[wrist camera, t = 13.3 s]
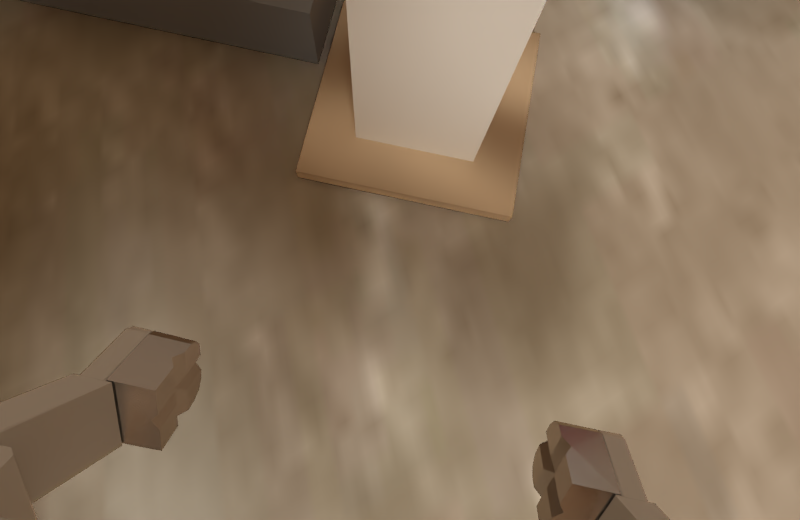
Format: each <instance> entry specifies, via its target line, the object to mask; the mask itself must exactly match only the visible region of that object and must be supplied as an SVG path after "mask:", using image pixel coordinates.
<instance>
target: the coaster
mask: <svg viewBox="0 0 800 520" xmlns="http://www.w3.org/2000/svg"><path fill="white" fill-rule="evenodd" d="M539 39H540V34H539V33H535V32H532V33H531V36H530V38H529V40H528V42H527V44H526V47H525V49H524V51H523V53H522V55H521V58H520V60H519V62H518V64H517V66H516V69H515V71H514V73H513V75H512V77H511V80H510V82H509V84H508V86H507V88H506V91H505V93H504V95H503V97H502V99H501V102H500V104H499V106H498V108H497V110H496V113H495V115H494V117H493V119H492V121H491V124H490V126H489V128H488V130H487V132H486V135H485V137H484V139H483V141H482V143H481V146H480V148H479V150H478V152H477V154H476V157H475V159H474V161H473V162H472V161H467V160H463V159H458V158H453V157H448V156H443V155H439V154H434V153H429V152H424V151H419V150H415V149H410V148H405V147H400V146H395V145H391V144H386V143H381V142H376V141H371V140H367V139H362V138H357V137H356V133H355V119H354V105H353V92H352V78H351V64H350V50H349V37H348V23H347V9H346V0H344V2H343V6H342V9H341V13H340V17H339V20H338V24H337V27H336V31H335V34H334V38H333V41H332V45H331V48H330V52H329V55H328V59H327V62H326V66H325V69H324V73H323V76H322V80H321V83H320V87H319V90H318V94H317V97H316V101H315V105H314V108H313V112H312V115H311V119H310V122H309V126H308V129H307V133H306V136H305V140H304V143H303V147H302V150H301V154H300V157H299V161H298V164H297V168H296V173H297V176H298V177H300V178H305V179H310V180H314V181H319V182H324V183H328V184H333V185H338V186H342V187H347V188H352V189H357V190H361V191H366V192H371V193H375V194H380V195H385V196H390V197H394V198H399V199H404V200H408V201H413V202H418V203H422V204H427V205H432V206H437V207H441V208H446V209H451V210H455V211H460V212H465V213H469V214H474V215H479V216H484V217H488V218H493V219H498V220H502V221H507V222H508V221H509V220H510V219H511V218H512V216H513V209H514V202H515V196H516V189H517V183H518V176H519V170H520V163H521V157H522V150H523V144H524V137H525V131H526V124H527V117H528V111H529V104H530V98H531V91H532V85H533V78H534V72H535V65H536V59H537V52H538V46H539Z"/></svg>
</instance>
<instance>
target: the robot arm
mask: <svg viewBox="0 0 800 520" xmlns="http://www.w3.org/2000/svg"><path fill="white" fill-rule="evenodd" d="M200 355H201V353H200V344H199V343H198V342H196V341H193V340H189V339H185V338H181V337H177V336H173V335H169V334H165V333H161V332H157V331H151V330H147V329H143V328H139V327H135V326H132V327H129V328H127V329H125V330H124V331H123V332H122V333H121V334H120V335H119V336H118V337H117V338H116V339H115V340H114V341H113V342H112V343H111V344H110V345H109V346H108V347H107V348H106V349H105V350H104V351H103V352H102V353H101V354H100V355H99V356H98V357H97V358H96V359H95V360H94V361H93V362H92V363H91V364H90V365H89V366H88V367H87V368H86V369H85V370H84V371H83V372H82V373H81V374H80V375H77V374H71V375H68V376H66V377H63V378H61V379H58V380H56V381H53V382H51V383H48V384H45V385H43V386H40V387H38V388H35V389H33V390H30V391H28V392H25V393H23V394H20V395H18V396H15V397H13V398H10V399H7V400H5V401H2V402H0V520H37V518H36V515H35V512H34V509H33V507H32V503H33V502H35V501H36V500H38V499H40V498H41V497H43V496H44V495H46V494H47V493H49V492H50V491H52V490H54V489H55V488H57V487H58V486H60V485H61V484H63V483H64V482H66V481H68V480H69V479H71V478H72V477H74V476H75V475H77V474H78V473H80V472H82V471H83V470H85V469H86V468H88V467H89V466H91V465H92V464H94V463H96V462H97V461H99V460H100V459H102V458H103V457H105V456H106V455H108V454H110V453H111V452H113V451H114V450H116V449H117V448H119V447H120V446H122V443H125V444H130V445H135V446H140V447H145V448H151V449H156V450H161V451H162V449H163V448H164V446H165V445H166V443H167V442H168V440H169V439H170V437H171V436H172V434H173V433H174V431H175V430H176V428H177V427H178V419H177V416H178V415H180V414H182V413H183V412H185V411H187V410H189V408H190V406H191V405H192V403H193V402H194V400H195V398H196V395H197V392H198V390H199V387H200V382H201V369H200V367H199V366H198V365H197V363H196V361H197V359H198V358H199V356H200ZM546 434H547V440H548V441H546V442H544V443H542V444H540V445H539V447H538V449H537V451H536V453H535V456H534V462H533V484H534V488H535V489H536V491H537V492H538V493H539V495H540V496H541V499H540V501H539V503H538V504H537V512H538V518H539V520H670V519H669V518H668V517H667V516H666V515H665V514H664V513H663V511H662V510H661V509H660V508H659V507H658V506H657V505H656V504H655V503H651V502H648V500H647V497H646V495H645V492H644V489H643V487H642V484H641V481H640V479H639V476H638V473H637V471H636V468H635V465H634V463H633V460H632V457H631V454H630V452H629V449H628V446H627V444H626V441H625V439H624V438H623V437H622V435H620V434H615V433H610V432H606V431H601V430H596V429H591V428H586V427H582V426H577V425H572V424H568V423H563V422H558V421H553V422H552V423H551V424H550V425H549V427H548V429H547V431H546Z"/></svg>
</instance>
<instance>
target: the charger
mask: <svg viewBox="0 0 800 520" xmlns="http://www.w3.org/2000/svg"><path fill="white" fill-rule="evenodd" d="M545 3H546V0H346V9H347V23H348V37H349V50H350V64H351V78H352V92H353V105H354V119H355V133H356V137H357V138H362V139H367V140H371V141H376V142H381V143H386V144H391V145H395V146H400V147H405V148H410V149H415V150H419V151H424V152H429V153H434V154H439V155H443V156H448V157H453V158H458V159H463V160H467V161H472V162H473V161H474V159H475V157H476V154H477V152H478V150H479V148H480V146H481V143H482V141H483V139H484V137H485V135H486V132H487V130H488V128H489V126H490V124H491V121H492V119H493V117H494V115H495V113H496V110H497V108H498V106H499V104H500V102H501V99H502V97H503V95H504V93H505V91H506V88H507V86H508V84H509V82H510V80H511V77H512V75H513V73H514V71H515V69H516V66H517V64H518V62H519V60H520V58H521V55H522V53H523V51H524V49H525V47H526V44H527V42H528V40H529V38H530V36H531V33H532V31H533V29H534V27H535V25H536V22H537V20H538V18H539V16H540V14H541V11H542V9H543V7H544V5H545Z"/></svg>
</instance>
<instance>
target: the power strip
mask: <svg viewBox="0 0 800 520" xmlns="http://www.w3.org/2000/svg"><path fill="white" fill-rule="evenodd" d="M22 1H26V2H31V3H36V4H40V5H45V6H50V7H54V8H59V9H64V10H69V11H73V12H78V13H83V14H87V15H92V16H97V17H101V18H106V19H111V20H115V21H120V22H125V23H130V24H134V25H139V26H144V27H148V28H153V29H158V30H162V31H167V32H172V33H177V34H181V35H186V36H191V37H195V38H200V39H205V40H209V41H214V42H219V43H223V44H228V45H233V46H238V47H242V48H247V49H252V50H256V51H261V52H266V53H270V54H275V55H280V56H285V57H289V58H294V59H299V60H303V61H308V62H313V63H317V64H318V63H319V59H320V56H321V52H322V49H323V46H324V42H325V39H326V35H327V32H328V28H329V25H330V21H331V18H332V14H333V11H334V7H335V4H336V1H337V0H22Z"/></svg>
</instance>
